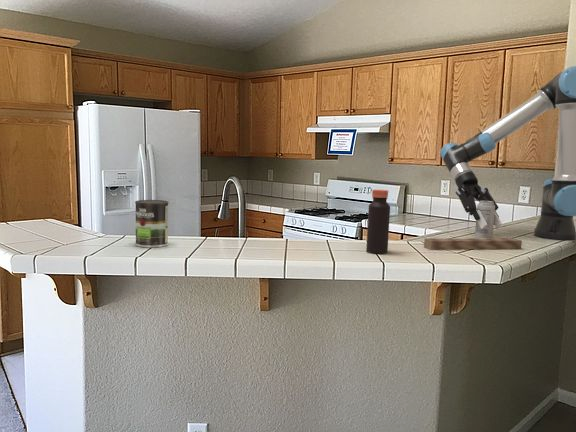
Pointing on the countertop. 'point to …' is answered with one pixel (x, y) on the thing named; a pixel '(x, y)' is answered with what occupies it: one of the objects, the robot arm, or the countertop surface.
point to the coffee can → (151, 223)
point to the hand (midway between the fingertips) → (491, 226)
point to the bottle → (378, 223)
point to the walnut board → (471, 243)
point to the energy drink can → (486, 219)
